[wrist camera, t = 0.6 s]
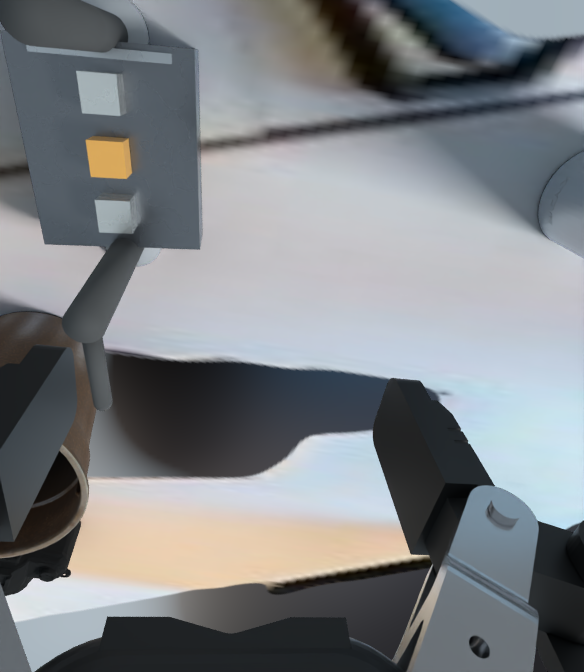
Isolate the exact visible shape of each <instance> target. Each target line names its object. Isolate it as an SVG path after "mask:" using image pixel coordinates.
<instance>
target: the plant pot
mask: <svg viewBox="0 0 584 672" xmlns="http://www.w3.org/2000/svg"><path fill="white" fill-rule="evenodd" d="M36 344H39V345H50V346H60V347H70V348H71V349H72V351H73V355H74V366H75V378H76V390H77V409H76V414H75V418H74V421H73V424H72V426H71V428H70V430H69V432H68V434H67V436H66V438H65V440H64V442H63V444H62V446H61V448H60V450H59V452H58V454H57V456H56V458H55V460H54V462H53V464H52V466H51V468H50V470H49V472H48V474H47V476H46V478H45V480H44V483H43V485H42V487H41V489H40V491H39V493H38V495H37V497H36V499H35V501H34V503H33V505H32V507H31V509H30V511H29V513H28V515H27V517H26V519H25V521H24V523H23V525H22V527H21V529H20V531H19V533H18V535H17V537H16V539H15V541H14V542H2V541H0V558H7V557H14V556H19V555H23V554H27V553H30V552H34V551H37V550H39V549H42V548H44V547H47V546H49V545H51V544H53V543H55V542H56V541H58V540H60V539H61V538H63V537H64V536H65V535H67V534H68V533H69V532H70V531H71V530H72V529H73V528H74V527H75V526H76V525H77V524H78V523H79V521H80V520H81V518H82V516H83V514H84V512H85V509H86V506H87V502H88V496H89V485H88V479H87V471H88V467H89V461H90V451H89V443H90V437H91V432H92V427H93V423H94V418H95V413H96V408H95V407H94V404H93V399H92V394H91V388H90V383H89V378H88V372H87V367H86V362H85V356H84V351H83V346H82V343H81V342H77V341H75V340H73V339H71V338H70V337H69V336H68V335H67V334H66V333H65V332H64V330H63V327H62V318H59V317H56V316H53V315H49V314H44V313H38V312H15V313H10V314H6V315H3V316H0V367H2V366H4V365H6V364H7V363H13V364H20V362H21V361H22V360H23V359H24V357H25V356H26V355H27V353H28V352H29V351H30V350H31V348H32V347H33V346H34V345H36Z"/></svg>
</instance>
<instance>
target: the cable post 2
mask: <svg viewBox="0 0 584 672" xmlns="http://www.w3.org/2000/svg"><path fill="white" fill-rule="evenodd" d="M105 248H106V250H107V251H106V253H105V254H104V256H103V257H102V259H101V260H100V262H99V263H98V265H97V266H96V268H95V269H94V271H93V272H92V274H91V275H90V277H89V278H88V280H87V281H86V283H85V284H84V286H83V287H82V289H81V290H80V292H79V293H78V295H77V296H76V298H75V299H74V301H73V302H72V304H71V305H70V307H69V308H68V310H67V311H66V313H65V314H64V316H63V318H62V327H63V330H64V332H65V333H66V334H67V335H68V336H69V337H70V338H71V339H73V340H75V341H77V342H81V343H82V346H83V351H84V356H85V362H86V367H87V372H88V378H89V383H90V388H91V394H92V399H93V404H94V407H95V408H96V409H97V410H100V411H105V410H108V409H109V408H110V407H111V405H112V395H111V388H110V382H109V376H108V370H107V364H106V357H105V351H104V344H103V338H102V337H103V335H104V333H105V331H106V329H107V327H108V325H109V323H110V320H111V318H112V316H113V314H114V312H115V310H116V308H117V306H118V303H119V301H120V299H121V297H122V295H123V293H124V291H125V289H126V286H127V284H128V282H129V280H130V278H131V276H132V274H133V272H134V269H135V267H137V266H144V265H147V264H149V263H151V262H152V261H153V260H155V259H156V257H157V256H158V255H159V253H160V250H161V248H141V247H138V246H137V245H136V244H135V243H134V242H132V241H131V240H128V239H117V240H115V241H114V242H113V243H112V244H111V245H110V246H105Z"/></svg>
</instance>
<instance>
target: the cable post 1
mask: <svg viewBox="0 0 584 672" xmlns="http://www.w3.org/2000/svg"><path fill="white" fill-rule="evenodd" d="M0 22H1V24H2V25H3V27H4V28H5V30H6V31H7V32H8V33H9V34H10V35H11V36H12V37H13V38H15V39H16V40H17V41H19V42H21V43H23V44H25V45H29V46H35V47H46V48H57V49H68V50H78V51H89V52H100V53H104V52H108V51H110V50H111V49H112V48H114V47H115V46H116V44H117V42H127V43H137V44H148V45H149V35H148V29H147V26H146V23H145V20H144V18H143V16H142V15H141V13H140V11H139V10H138V9H137V7H136V6H135V5H134V4H133V3H132V2H131V1H130V0H0Z"/></svg>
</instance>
